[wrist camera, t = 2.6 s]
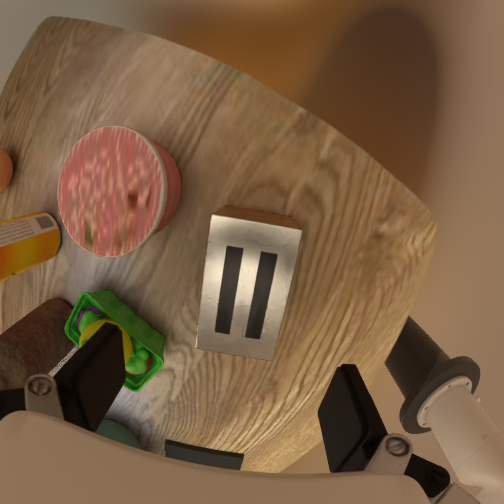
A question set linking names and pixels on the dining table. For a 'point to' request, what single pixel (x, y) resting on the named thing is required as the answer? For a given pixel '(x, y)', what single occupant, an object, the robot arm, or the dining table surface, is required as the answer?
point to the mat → (203, 455)
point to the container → (117, 190)
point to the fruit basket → (133, 329)
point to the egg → (5, 169)
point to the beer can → (27, 242)
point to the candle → (34, 344)
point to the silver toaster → (246, 281)
